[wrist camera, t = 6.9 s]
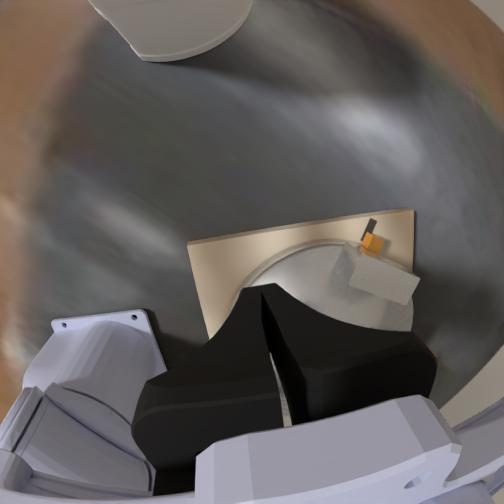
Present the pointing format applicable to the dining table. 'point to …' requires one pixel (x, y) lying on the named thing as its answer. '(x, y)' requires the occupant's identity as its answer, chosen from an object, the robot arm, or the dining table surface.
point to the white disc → (340, 285)
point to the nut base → (279, 238)
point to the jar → (174, 25)
